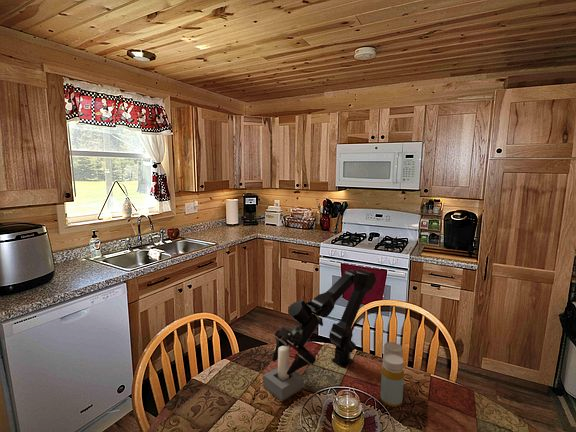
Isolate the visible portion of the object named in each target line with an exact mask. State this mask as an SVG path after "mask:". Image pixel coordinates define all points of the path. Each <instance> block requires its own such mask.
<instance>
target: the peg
mask: <svg viewBox="0 0 576 432" xmlns="http://www.w3.org/2000/svg"><path fill="white" fill-rule="evenodd" d="M290 353H291V349H290V347H289V346H288V345H286V346H280V347H279V348H278V359H277V367H278V379H279V380H280V381H281V382H284V381H286V380H288V379H289V375H288V374H287V371H288V369H289V367H290V356H291V355H290Z"/></svg>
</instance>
